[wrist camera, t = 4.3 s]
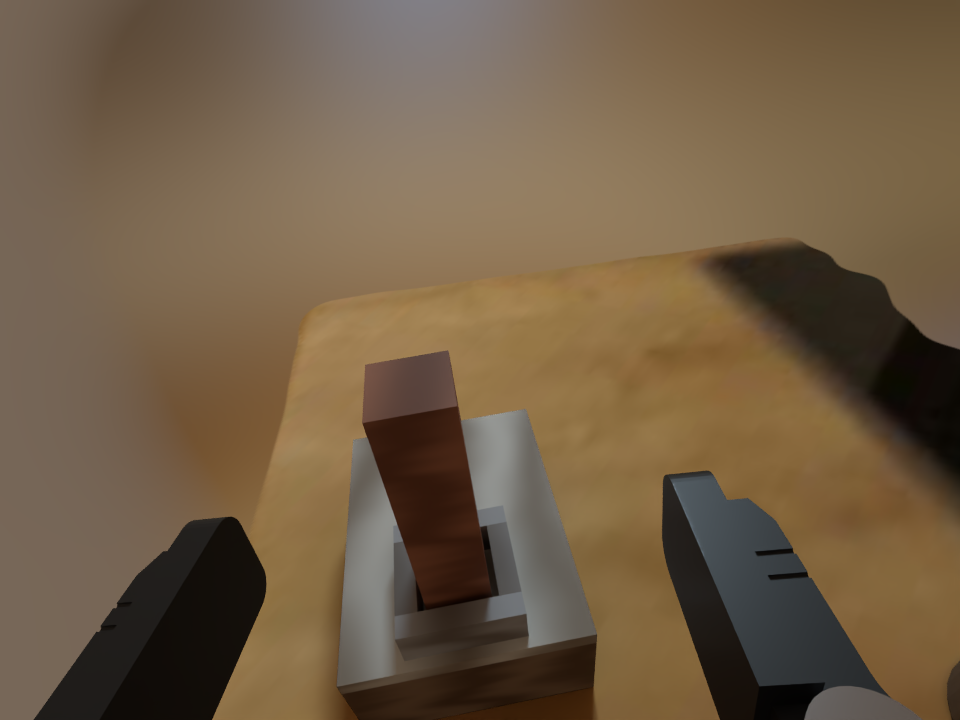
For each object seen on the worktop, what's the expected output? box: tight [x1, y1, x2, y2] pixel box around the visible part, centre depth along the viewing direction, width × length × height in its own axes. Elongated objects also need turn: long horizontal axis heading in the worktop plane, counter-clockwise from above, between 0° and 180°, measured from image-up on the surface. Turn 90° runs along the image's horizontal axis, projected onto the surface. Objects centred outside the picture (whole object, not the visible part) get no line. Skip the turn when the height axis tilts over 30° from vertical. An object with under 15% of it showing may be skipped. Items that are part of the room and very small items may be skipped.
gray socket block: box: [337, 409, 597, 720], centre depth 36 cm, size 14×18×10 cm
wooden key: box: [362, 351, 492, 610], centre depth 26 cm, size 4×4×16 cm
